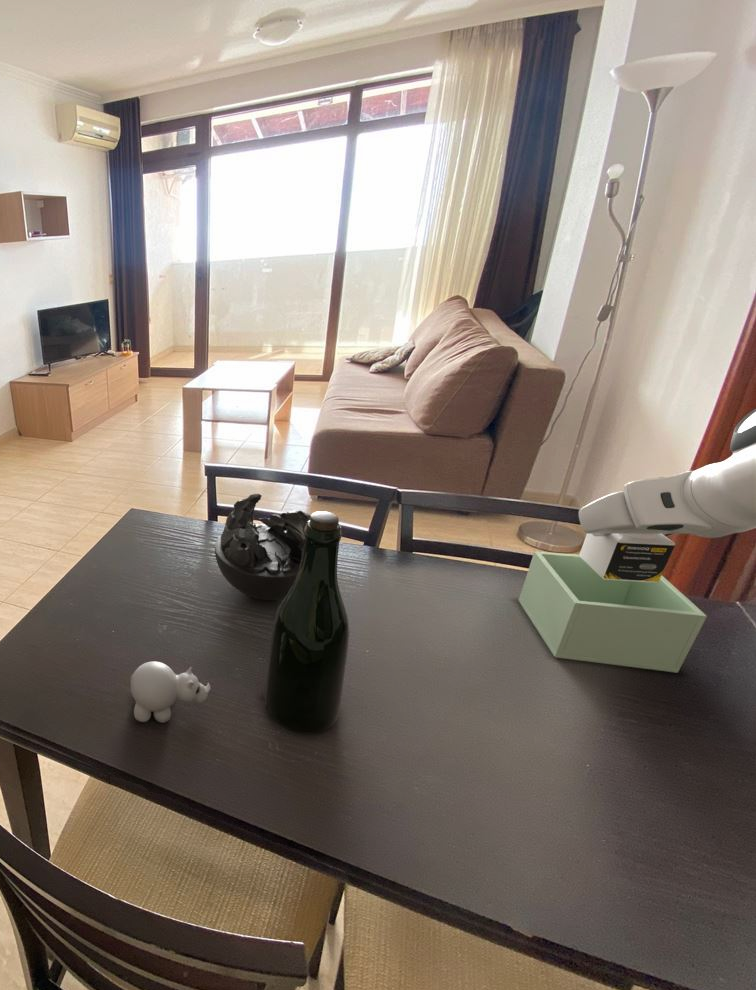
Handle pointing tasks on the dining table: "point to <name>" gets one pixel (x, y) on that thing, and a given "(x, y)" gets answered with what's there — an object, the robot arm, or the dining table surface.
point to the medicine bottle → (628, 556)
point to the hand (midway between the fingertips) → (627, 531)
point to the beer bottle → (310, 636)
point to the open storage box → (608, 615)
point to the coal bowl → (261, 550)
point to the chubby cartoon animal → (163, 690)
